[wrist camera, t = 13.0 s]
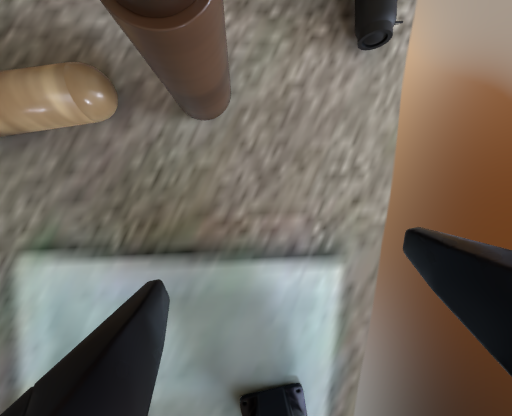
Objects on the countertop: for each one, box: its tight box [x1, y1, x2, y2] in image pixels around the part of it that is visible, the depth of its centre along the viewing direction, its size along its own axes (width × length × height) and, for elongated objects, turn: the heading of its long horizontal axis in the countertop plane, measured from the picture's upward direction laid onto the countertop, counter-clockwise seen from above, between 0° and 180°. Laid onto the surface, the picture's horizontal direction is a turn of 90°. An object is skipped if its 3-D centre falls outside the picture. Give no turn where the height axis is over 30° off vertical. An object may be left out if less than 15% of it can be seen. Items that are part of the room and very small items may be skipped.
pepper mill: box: [100, 0, 231, 120], centre depth 11 cm, size 5×5×14 cm
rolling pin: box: [0, 62, 118, 137], centre depth 16 cm, size 15×4×4 cm, turn 100°
